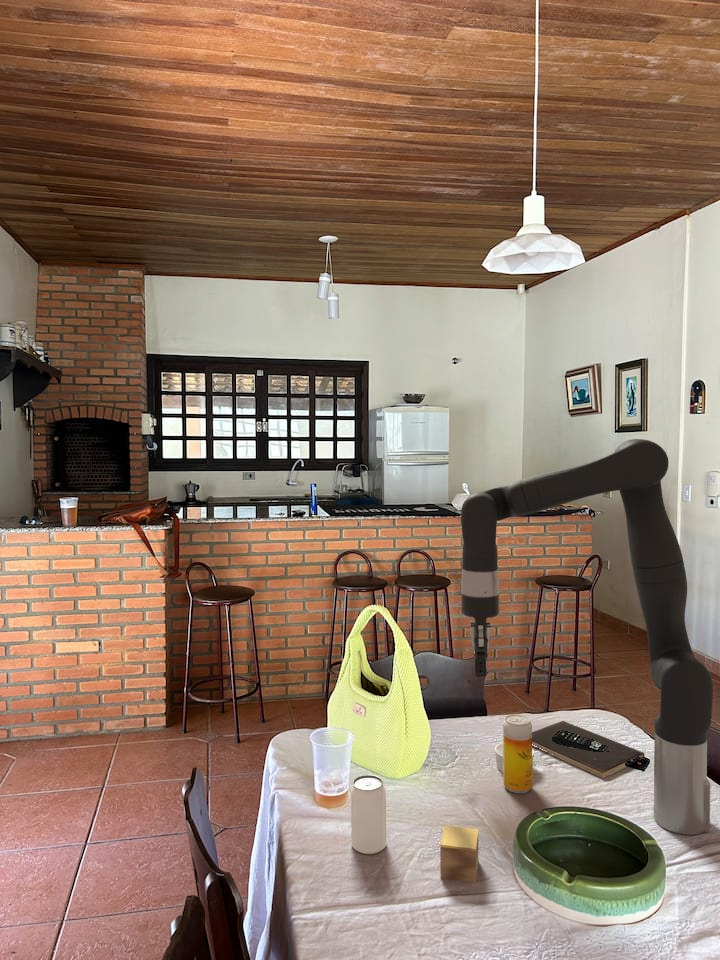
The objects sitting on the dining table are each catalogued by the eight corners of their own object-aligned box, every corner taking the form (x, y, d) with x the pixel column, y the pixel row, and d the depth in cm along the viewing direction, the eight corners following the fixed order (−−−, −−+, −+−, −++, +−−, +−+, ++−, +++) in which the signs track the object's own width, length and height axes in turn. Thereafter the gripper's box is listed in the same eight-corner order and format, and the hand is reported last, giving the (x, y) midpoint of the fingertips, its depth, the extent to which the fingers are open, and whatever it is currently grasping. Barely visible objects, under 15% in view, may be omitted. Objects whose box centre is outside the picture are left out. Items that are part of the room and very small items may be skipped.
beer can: (532, 795, 143) (532, 726, 143) (503, 793, 145) (503, 724, 144) (531, 781, 149) (531, 714, 149) (503, 779, 151) (502, 712, 150)
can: (361, 859, 122) (360, 794, 122) (345, 841, 128) (344, 778, 127) (392, 849, 125) (392, 785, 125) (375, 831, 131) (375, 770, 130)
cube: (475, 849, 115) (475, 883, 115) (478, 829, 121) (478, 862, 121) (440, 844, 116) (440, 878, 117) (444, 825, 122) (444, 857, 123)
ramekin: (539, 765, 157) (539, 746, 157) (526, 781, 150) (526, 762, 150) (502, 756, 162) (502, 738, 162) (488, 771, 155) (488, 752, 154)
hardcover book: (602, 781, 150) (602, 771, 150) (522, 744, 169) (522, 735, 169) (644, 761, 159) (644, 751, 159) (564, 728, 178) (564, 719, 178)
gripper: (500, 599, 131) (501, 687, 132) (497, 584, 144) (497, 665, 145) (461, 598, 132) (461, 686, 133) (461, 584, 145) (461, 664, 146)
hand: (480, 675), depth 139 cm, fingers closed
